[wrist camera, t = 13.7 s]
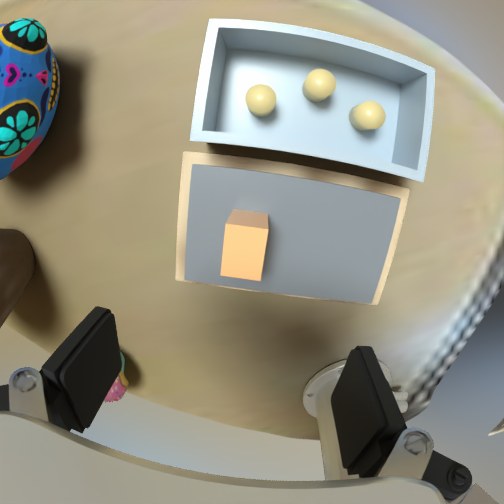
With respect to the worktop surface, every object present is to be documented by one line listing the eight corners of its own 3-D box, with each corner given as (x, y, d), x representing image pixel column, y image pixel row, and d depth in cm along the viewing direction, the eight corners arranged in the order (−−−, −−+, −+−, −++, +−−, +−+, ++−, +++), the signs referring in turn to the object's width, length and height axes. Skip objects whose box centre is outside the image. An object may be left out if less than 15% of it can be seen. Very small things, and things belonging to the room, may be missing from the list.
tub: (404, 80, 21) (434, 68, 15) (393, 174, 25) (423, 182, 19) (221, 44, 21) (209, 18, 15) (206, 142, 24) (189, 140, 19)
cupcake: (83, 322, 33) (36, 378, 21) (138, 343, 33) (100, 412, 22) (88, 364, 36) (52, 419, 24) (138, 384, 36) (109, 447, 25)
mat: (407, 188, 25) (409, 189, 24) (376, 303, 29) (377, 305, 29) (184, 151, 25) (183, 151, 24) (176, 278, 29) (175, 279, 29)
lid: (393, 195, 25) (427, 210, 19) (367, 296, 29) (388, 331, 23) (196, 163, 25) (174, 168, 19) (188, 273, 29) (169, 306, 22)
